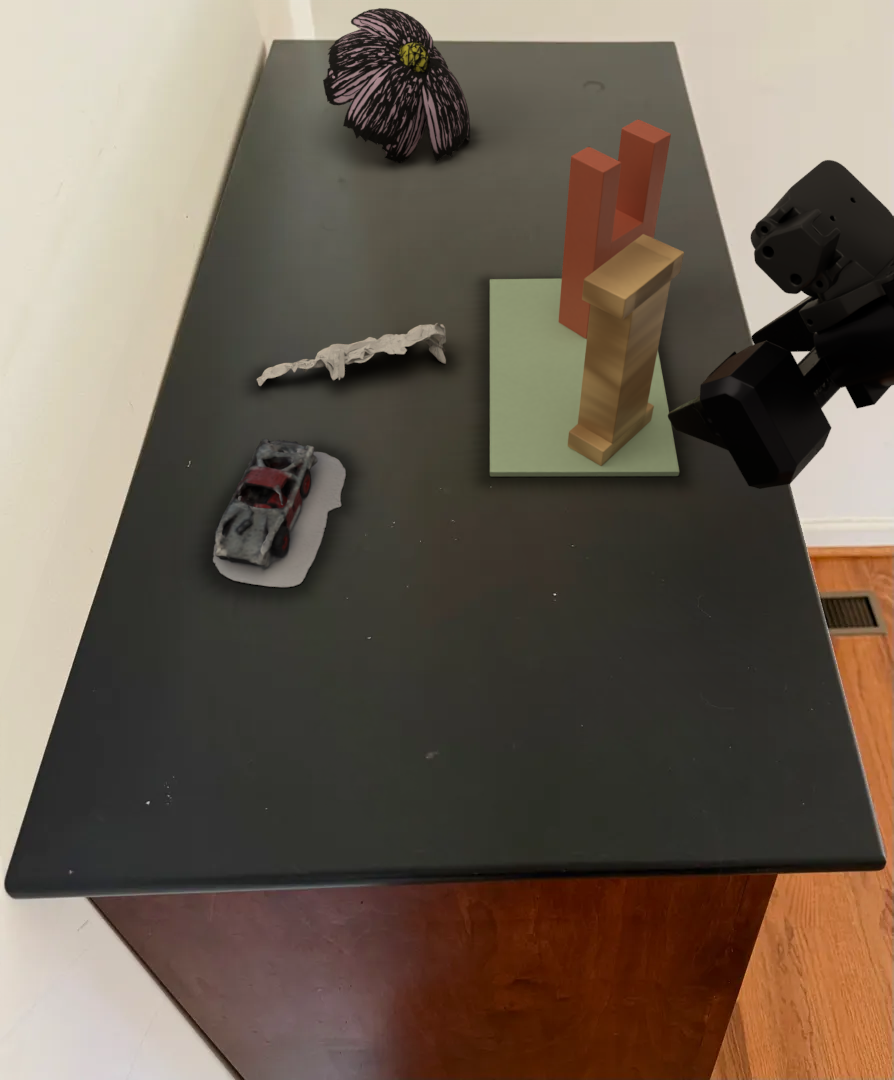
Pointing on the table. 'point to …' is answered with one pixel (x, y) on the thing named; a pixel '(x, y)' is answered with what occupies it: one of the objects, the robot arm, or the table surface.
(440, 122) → the decorative flower
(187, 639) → the table surface
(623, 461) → the word mat
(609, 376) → the letter I
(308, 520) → the toy car
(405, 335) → the paper
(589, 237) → the letter H
